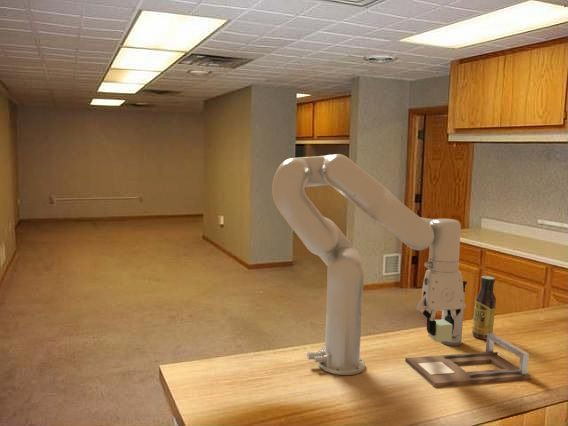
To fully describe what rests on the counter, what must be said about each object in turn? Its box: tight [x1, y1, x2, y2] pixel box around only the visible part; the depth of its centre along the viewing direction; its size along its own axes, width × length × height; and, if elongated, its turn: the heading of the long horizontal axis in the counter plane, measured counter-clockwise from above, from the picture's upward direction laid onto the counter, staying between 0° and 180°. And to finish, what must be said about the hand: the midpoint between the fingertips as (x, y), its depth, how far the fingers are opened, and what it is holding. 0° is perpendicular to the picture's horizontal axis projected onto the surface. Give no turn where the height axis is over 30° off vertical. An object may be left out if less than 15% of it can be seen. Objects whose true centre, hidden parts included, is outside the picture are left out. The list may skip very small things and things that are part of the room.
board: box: [404, 351, 532, 388], centre depth 139 cm, size 28×16×2 cm, turn 103°
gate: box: [485, 332, 530, 375], centre depth 141 cm, size 2×16×6 cm, turn 13°
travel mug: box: [441, 280, 468, 347], centre depth 158 cm, size 6×7×20 cm
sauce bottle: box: [471, 275, 497, 340], centre depth 164 cm, size 7×6×20 cm
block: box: [427, 318, 452, 343], centre depth 135 cm, size 4×4×4 cm
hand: (439, 332), depth 136 cm, fingers closed on block, 4 cm apart
